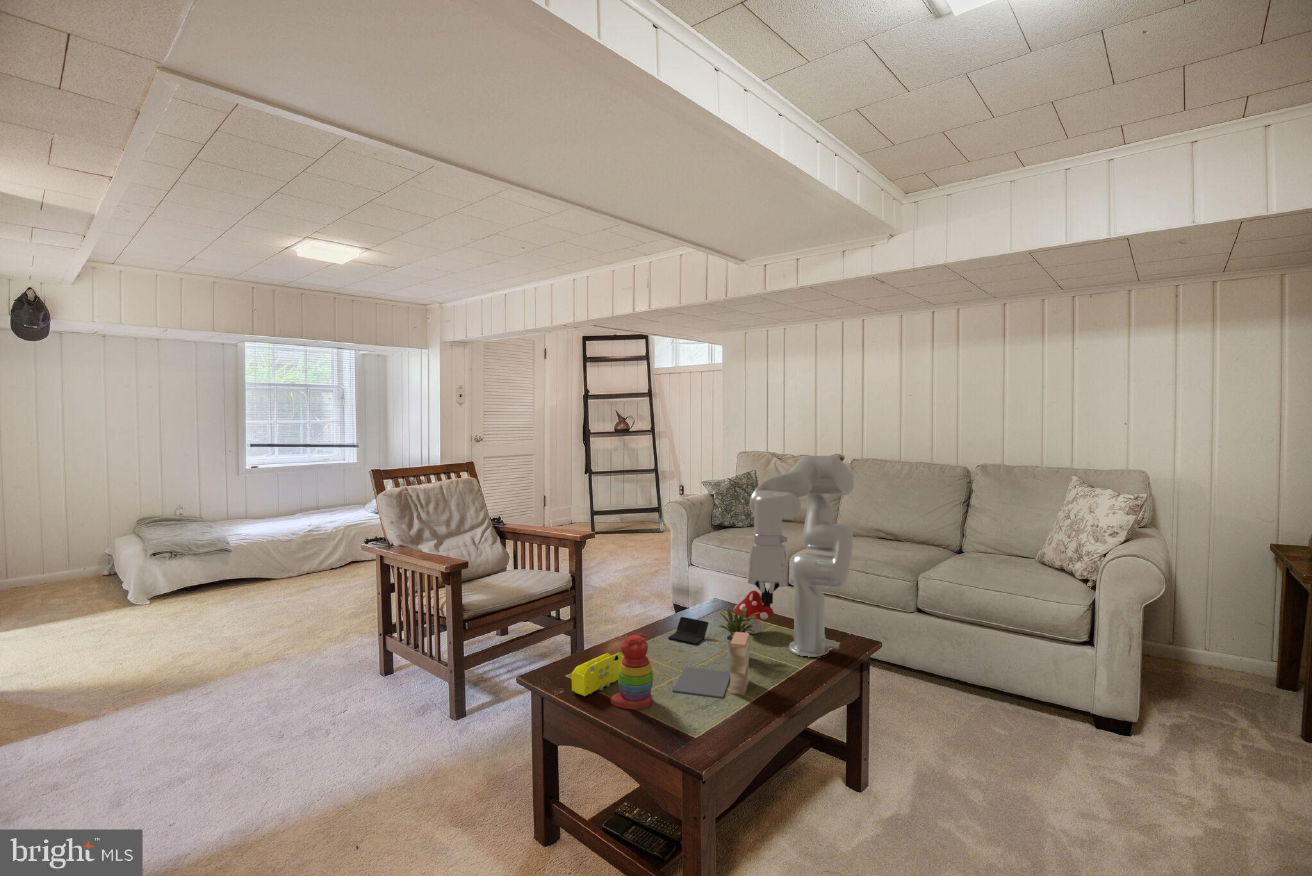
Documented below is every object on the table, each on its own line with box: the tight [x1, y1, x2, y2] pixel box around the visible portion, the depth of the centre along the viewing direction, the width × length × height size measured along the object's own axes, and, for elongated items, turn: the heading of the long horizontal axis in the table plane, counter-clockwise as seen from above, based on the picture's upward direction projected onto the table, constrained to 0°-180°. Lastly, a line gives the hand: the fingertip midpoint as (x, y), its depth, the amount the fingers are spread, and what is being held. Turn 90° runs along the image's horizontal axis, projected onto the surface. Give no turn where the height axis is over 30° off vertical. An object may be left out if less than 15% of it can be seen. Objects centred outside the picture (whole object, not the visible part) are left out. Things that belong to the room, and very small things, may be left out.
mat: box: [672, 666, 730, 699], centre depth 175 cm, size 14×16×1 cm
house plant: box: [717, 606, 760, 659], centre depth 191 cm, size 14×14×16 cm
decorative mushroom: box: [732, 590, 775, 635], centre depth 214 cm, size 14×14×15 cm
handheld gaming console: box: [667, 616, 709, 647], centre depth 209 cm, size 12×7×10 cm
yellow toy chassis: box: [571, 652, 624, 697], centre depth 173 cm, size 16×6×8 cm, turn 141°
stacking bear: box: [609, 633, 654, 710], centre depth 164 cm, size 11×10×18 cm
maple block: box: [729, 632, 750, 696], centre depth 172 cm, size 4×9×14 cm, turn 164°
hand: (767, 605), depth 169 cm, fingers closed
